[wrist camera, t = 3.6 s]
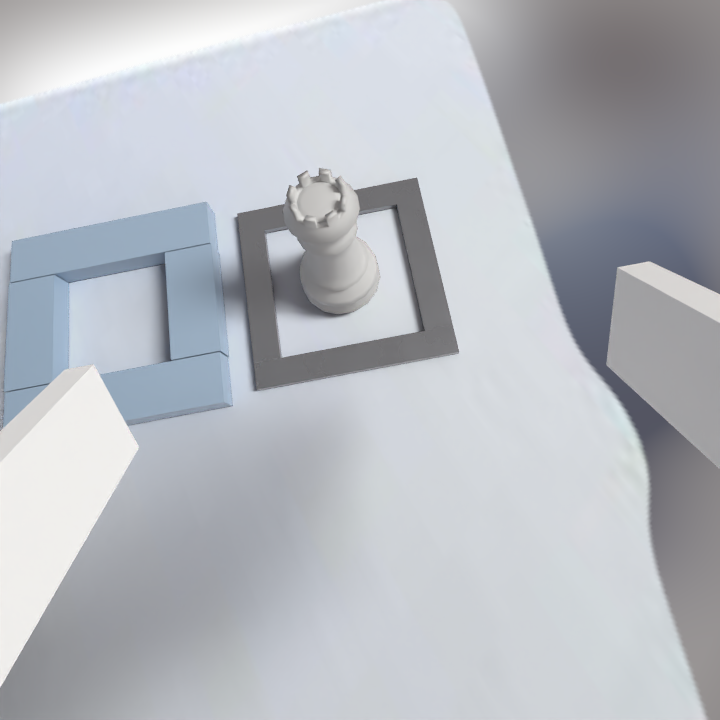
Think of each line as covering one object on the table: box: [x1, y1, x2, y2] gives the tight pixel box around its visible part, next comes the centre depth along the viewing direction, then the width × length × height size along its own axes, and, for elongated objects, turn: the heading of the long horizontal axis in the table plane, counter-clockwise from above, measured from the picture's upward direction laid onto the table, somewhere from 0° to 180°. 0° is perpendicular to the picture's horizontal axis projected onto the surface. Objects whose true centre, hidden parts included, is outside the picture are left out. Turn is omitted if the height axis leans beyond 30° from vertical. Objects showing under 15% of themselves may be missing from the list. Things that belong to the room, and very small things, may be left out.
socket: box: [3, 202, 233, 428], centre depth 25 cm, size 12×12×1 cm
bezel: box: [237, 178, 459, 391], centre depth 25 cm, size 11×11×1 cm
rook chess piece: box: [283, 168, 380, 314], centre depth 22 cm, size 4×4×8 cm
